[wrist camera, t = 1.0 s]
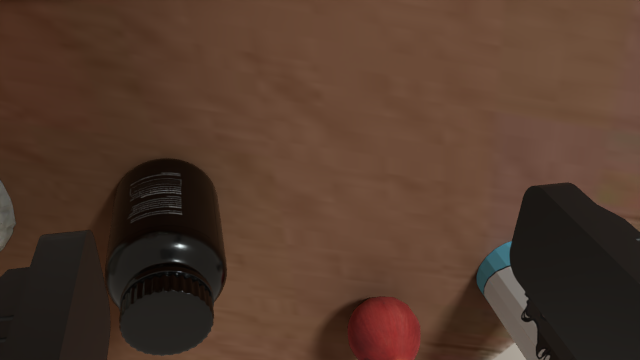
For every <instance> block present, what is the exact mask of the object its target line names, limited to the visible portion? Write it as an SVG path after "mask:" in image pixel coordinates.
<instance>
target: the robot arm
mask: <svg viewBox="0 0 640 360" xmlns="http://www.w3.org/2000/svg"><path fill="white" fill-rule="evenodd" d="M509 257H510V265H511V269H512V272H513V275H514V277H515V278H516V280H517V282H518V283H519V284H520V285H521V287H522V288H523V289H524V291H525V292H526V293H527V295H528V296H529V297H530V299H531V300H532V301H533V303H534V304H535V305H536V307H537V308H538V309H539V311H540V312H541V313H542V315H543V316H544V317H545V318H546V320H547V321H548V322H549V324H550V325H551V326H552V328H553V329H554V330H555V332H556V333H557V334H558V336H559V337H560V338H561V340H562V341H563V342H564V344H565V345H566V346H567V347H568V349H569V350H570V351H571V353H572V354H573V355H574V357H575V358H576V359H577V360H640V232H639V231H638V230H637V229H635V228H634V227H633V226H632V225H631V224H630V223H628V222H627V221H626V220H625V219H623V218H622V217H620V216H618V215H616V214H614V213H612V212H610V211H608V210H606V209H605V208H603V207H601V206H599V205H597V204H596V203H594V202H593V201H592V200H591V199H590V198H589V197H588V196H587V195H585V194H584V193H583V192H582V191H581V190H580V189H579V188H578V187H576V186H575V185H574V184H572V183H558V184H548V185H538V186H531V187H529V188H528V189H527V191H526V192H525V194H524V197H523V200H522V204H521V208H520V212H519V216H518V220H517V223H516V227H515V231H514V235H513V239H512V243H511V247H510V254H509ZM109 338H110V308H109V300H108V295H107V291H106V286H105V282H104V278H103V273H102V269H101V265H100V260H99V256H98V252H97V247H96V243H95V239H94V236H93V233H92V232H91V231H90V230H85V231H75V232H65V233H55V234H46V235H42V236H41V237H40V238H39V241H38V244H37V247H36V250H35V253H34V256H33V259H32V262H31V265H30V267H26V268H17V269H9V270H7V271H6V272H5V273H4V274H3V275H2V276H1V277H0V360H107V354H108V346H109Z"/></svg>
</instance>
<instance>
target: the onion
mask: <svg viewBox="0 0 640 360" xmlns="http://www.w3.org/2000/svg"><path fill="white" fill-rule="evenodd" d="M348 340H349V346H350V348H351V349H352V351H353V353H354V354H355V356H356V357H357V359H358V360H414V359H415V357H416V354H417V352H418V349H419V346H420V325H419V322H418V319H417V318H416V316H415V315H414V313H413V312H412V311H411V309H410V308H409V306H408V305H407V304H405V303H403V302H402V301H400V300H398V299H396V298H394V297H381V296H380V297H372V298H369V299H367V300H366V301H364V302H363V303H362V304H360V305H359V306H358V307H357V308H356V309H355V310H354V311H353V313H352V315H351V317H350V320H349V323H348Z"/></svg>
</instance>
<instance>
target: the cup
mask: <svg viewBox="0 0 640 360" xmlns="http://www.w3.org/2000/svg"><path fill="white" fill-rule="evenodd" d="M511 243H512V241H511V242H508V243H505V244H503V245H501V246H500V247H498V248H496V249H495V250H493V251H492V252H491V253H490V254H489V255H488V256H487V257H486V258H485V259H484V261H483V262H482V264H481V265H480V267H479V270H478V273H477V285H478V287H479V289H480V290H481V292H482V294H483V295H484V297H485V298H486V300H487V301H488V303H489V304H490V306H491V307H492V309H493V310H494V312H495V313H496V315H497V316H498V318H499V319H500V321H501V322H502V324H503V325H504V327H505V328H506V330H507V331H508V333H509V334H510V336H511V337H512V339H513V340H514V342H515V343H516V345H517V346H518V348H519V349H520V351H521V352H522V354H523V355H524V357H525V358H526V360H577V359H576V358H575V357H574V355H573V354H572V353H571V351H570V350H569V349H568V347H567V346H566V345H565V344H564V342H563V341H562V340H561V338H560V337H559V336H558V334H557V333H556V332H555V330H554V329H553V328H552V326H551V325H550V324H549V322H548V321H547V320H546V318H545V317H544V316H543V315H542V313H541V312H540V311H539V309H538V308H537V307H536V305H535V304H534V303H533V301H532V300H531V299H530V297H529V296H528V295H527V293H526V292H525V291H524V289H523V288H522V287H521V285H520V284H519V283H518V282H517V280H516V278H515V277H514V275H513V272H512V269H511V265H510V257H509V254H510V247H511Z"/></svg>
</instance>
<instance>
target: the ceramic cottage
mask: <svg viewBox="0 0 640 360" xmlns="http://www.w3.org/2000/svg"><path fill="white" fill-rule="evenodd" d="M15 225H16V222H15V217H14V211H13V206H12V202H11V199H10V197H9V195H8V193H7V191H6V189H5V187H4V185H3V183H2V182H1V180H0V251H1V250H2V249H3V248H4V247H5V245H6V243H7V242H8V240H9V239H10V237H11V236H12V233H13V227H14V226H15Z"/></svg>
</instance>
